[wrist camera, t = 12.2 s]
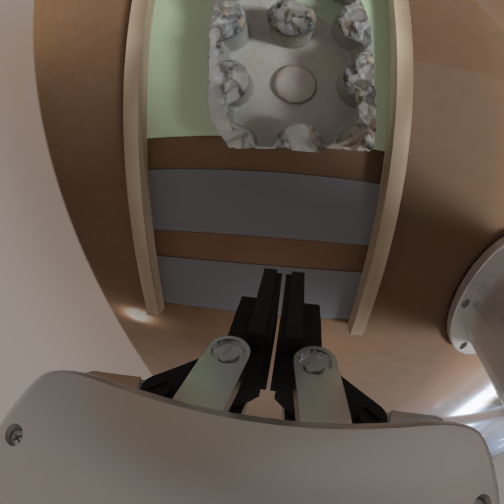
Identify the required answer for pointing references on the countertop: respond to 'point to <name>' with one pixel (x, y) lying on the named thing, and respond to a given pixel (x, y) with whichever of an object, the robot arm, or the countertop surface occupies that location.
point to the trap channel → (389, 179)
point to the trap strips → (259, 231)
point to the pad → (197, 66)
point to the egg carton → (291, 76)
